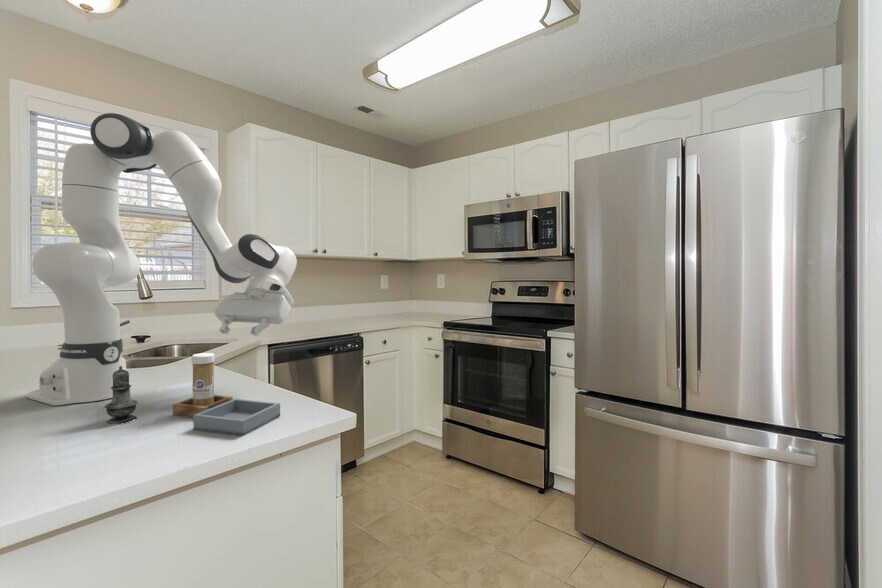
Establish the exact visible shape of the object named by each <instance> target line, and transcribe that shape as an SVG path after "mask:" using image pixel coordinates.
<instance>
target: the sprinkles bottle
mask: <svg viewBox="0 0 882 588" xmlns="http://www.w3.org/2000/svg"><path fill="white" fill-rule="evenodd" d="M191 364H192V398H193V405H199V406H206V405H209V404H211V403H214V395H215V373H214V369H215V368H214V367H215V365H214V364H215V354H214V353H212V352H201V353H194V354H192V356H191Z"/></svg>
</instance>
